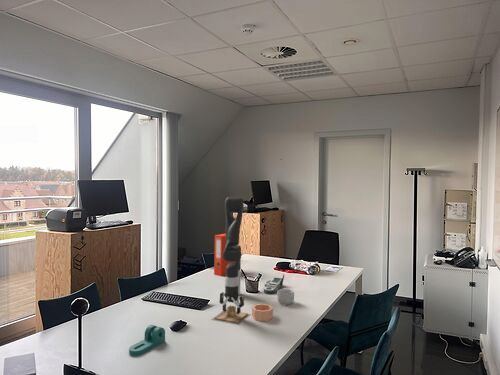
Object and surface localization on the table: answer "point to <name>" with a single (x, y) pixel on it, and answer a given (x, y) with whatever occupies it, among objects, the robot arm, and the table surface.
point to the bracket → (148, 340)
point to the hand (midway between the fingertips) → (231, 312)
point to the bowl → (262, 312)
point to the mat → (231, 322)
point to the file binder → (220, 255)
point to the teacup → (285, 296)
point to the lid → (231, 315)
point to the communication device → (273, 285)
